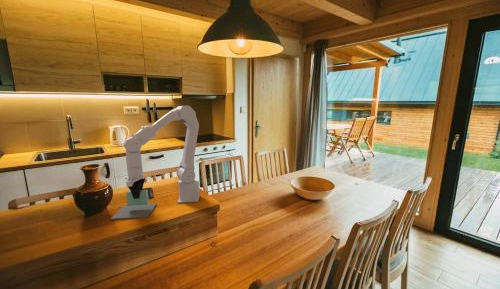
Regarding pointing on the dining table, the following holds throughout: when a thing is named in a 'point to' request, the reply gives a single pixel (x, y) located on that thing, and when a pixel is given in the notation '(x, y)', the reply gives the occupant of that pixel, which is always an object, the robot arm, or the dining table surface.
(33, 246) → the dining table surface
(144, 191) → the block
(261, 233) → the dining table surface
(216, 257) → the dining table surface
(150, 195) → the phone
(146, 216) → the mat
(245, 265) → the dining table surface
